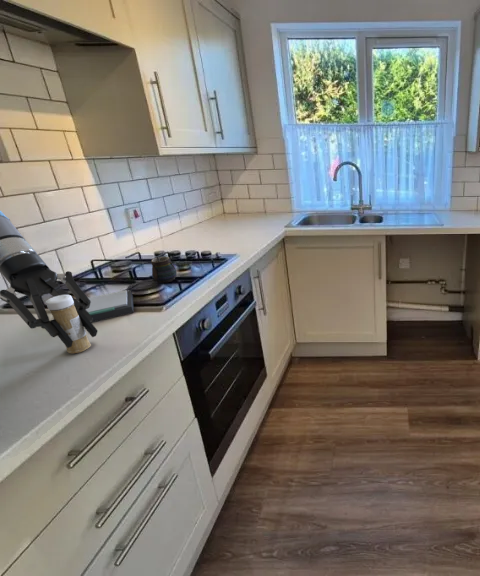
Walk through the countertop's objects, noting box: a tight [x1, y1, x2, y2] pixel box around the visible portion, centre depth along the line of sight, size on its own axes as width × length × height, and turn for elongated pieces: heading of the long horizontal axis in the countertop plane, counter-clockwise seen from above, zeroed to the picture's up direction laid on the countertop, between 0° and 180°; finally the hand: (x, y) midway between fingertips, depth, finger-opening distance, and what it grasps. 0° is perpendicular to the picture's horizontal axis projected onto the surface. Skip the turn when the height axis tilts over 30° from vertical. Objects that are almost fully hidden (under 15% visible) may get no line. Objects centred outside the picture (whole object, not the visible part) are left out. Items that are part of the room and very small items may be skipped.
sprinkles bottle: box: [45, 294, 92, 354], centre depth 83 cm, size 5×5×14 cm
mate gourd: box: [150, 256, 177, 284], centre depth 123 cm, size 7×8×10 cm
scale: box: [77, 289, 134, 323], centre depth 105 cm, size 14×14×3 cm
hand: (82, 339), depth 83 cm, fingers closed on sprinkles bottle, 4 cm apart
